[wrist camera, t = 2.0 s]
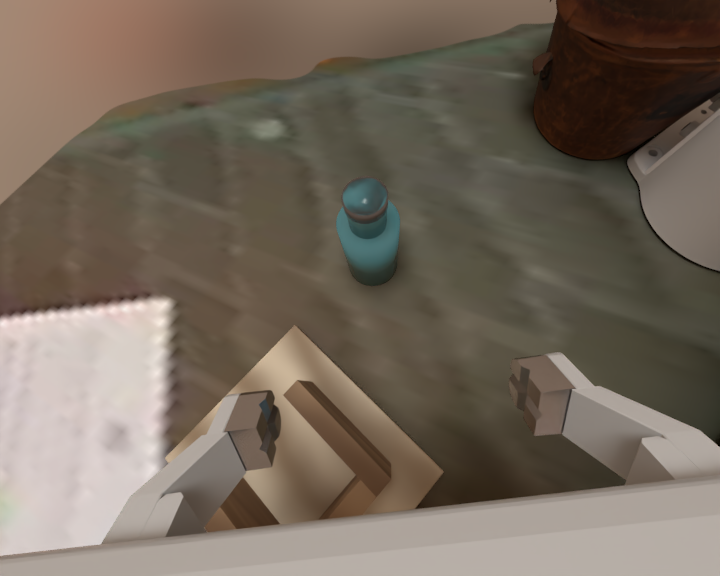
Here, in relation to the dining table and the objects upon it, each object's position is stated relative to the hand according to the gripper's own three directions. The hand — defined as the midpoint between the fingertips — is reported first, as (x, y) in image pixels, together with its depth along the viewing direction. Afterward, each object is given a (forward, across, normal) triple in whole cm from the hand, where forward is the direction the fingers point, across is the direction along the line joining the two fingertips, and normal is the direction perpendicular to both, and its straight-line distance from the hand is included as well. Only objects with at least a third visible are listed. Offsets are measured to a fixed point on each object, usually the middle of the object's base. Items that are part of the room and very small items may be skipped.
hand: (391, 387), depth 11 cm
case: (+33, -27, -6) cm, 43 cm away
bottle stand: (+10, +8, +17) cm, 22 cm away
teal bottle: (+22, 0, +4) cm, 23 cm away
